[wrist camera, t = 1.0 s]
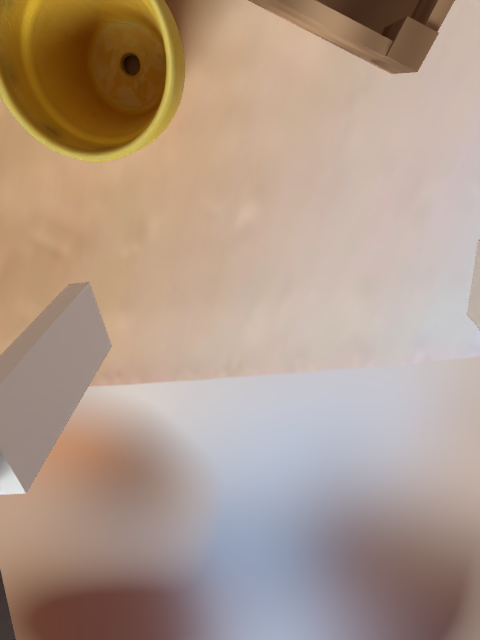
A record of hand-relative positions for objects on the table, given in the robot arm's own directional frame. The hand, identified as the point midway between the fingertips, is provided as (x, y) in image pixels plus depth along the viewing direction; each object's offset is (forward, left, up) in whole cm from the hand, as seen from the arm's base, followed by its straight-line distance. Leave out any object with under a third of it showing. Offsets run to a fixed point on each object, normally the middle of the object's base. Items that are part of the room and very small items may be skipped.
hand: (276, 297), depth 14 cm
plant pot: (-13, +3, -22) cm, 26 cm away
